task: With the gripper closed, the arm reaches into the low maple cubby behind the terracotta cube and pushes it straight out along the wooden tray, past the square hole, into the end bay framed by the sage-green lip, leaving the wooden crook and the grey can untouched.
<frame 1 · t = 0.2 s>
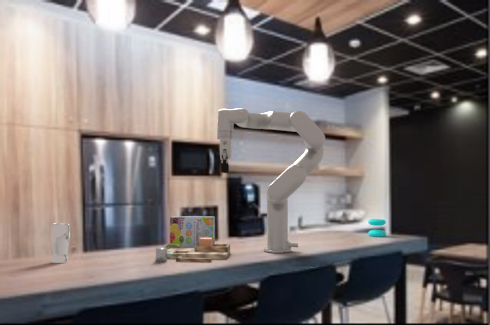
hand: (224, 172, 194), 36 cm above the counter, tool pointing down, fingers open, 9 cm apart
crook: (193, 262, 165), on the counter
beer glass: (59, 262, 163), on the counter
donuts: (377, 236, 247), on the counter
snack box: (192, 248, 202), on the counter
cube: (205, 249, 182), point 2 cm above the counter, touching wooden tray
can: (161, 261, 166), on the counter
wooden tray: (195, 255, 179), on the counter
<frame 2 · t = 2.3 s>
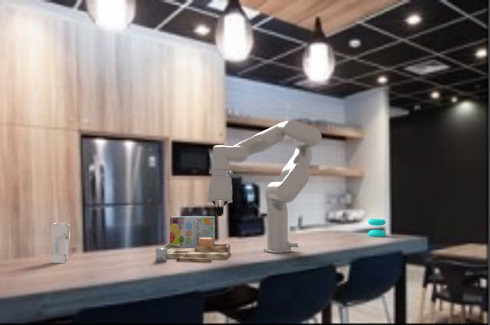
hand: (219, 216, 182), 17 cm above the counter, tool pointing down, fingers closed
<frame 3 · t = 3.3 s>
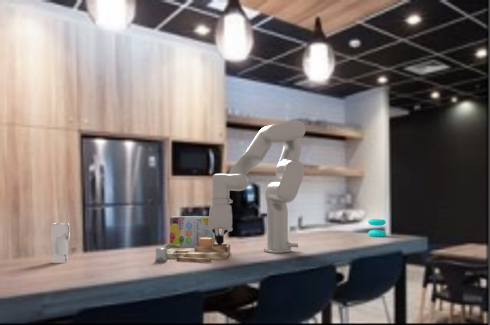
hand: (219, 244, 181), 4 cm above the counter, tool pointing down, fingers closed
nothing on the counter moved.
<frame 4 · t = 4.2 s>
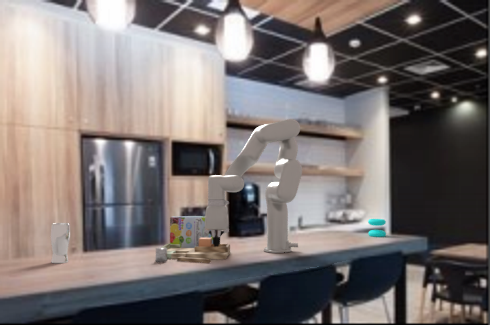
hand: (216, 246, 181), 4 cm above the counter, tool pointing down, fingers closed
cube: (205, 249, 182), point 2 cm above the counter, touching wooden tray, gripper
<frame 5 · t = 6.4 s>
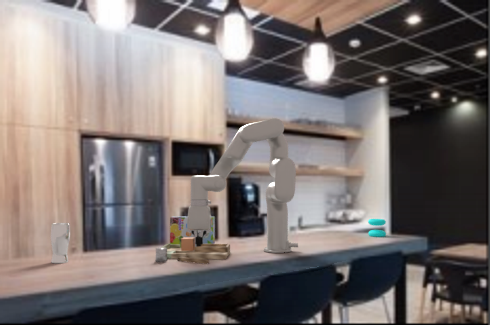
hand: (199, 245, 182), 4 cm above the counter, tool pointing down, fingers closed
cube: (188, 249, 182), point 2 cm above the counter, touching gripper
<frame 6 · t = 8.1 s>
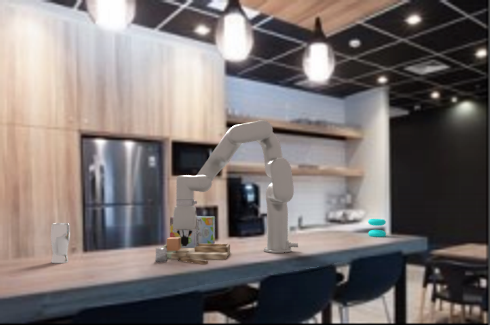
hand: (184, 245, 182), 4 cm above the counter, tool pointing down, fingers closed
cube: (173, 249, 182), point 2 cm above the counter, touching wooden tray, gripper
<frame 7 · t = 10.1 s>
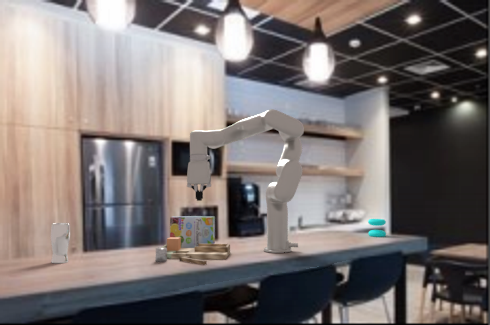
hand: (199, 200, 183), 23 cm above the counter, tool pointing down, fingers closed
cube: (173, 249, 182), point 2 cm above the counter, touching wooden tray
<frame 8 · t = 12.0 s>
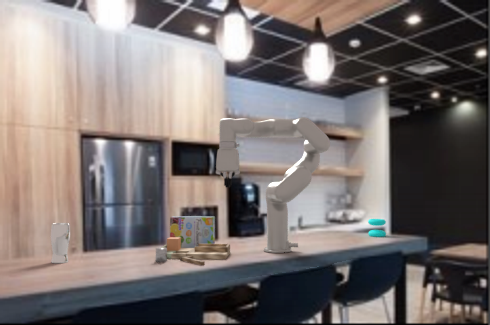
hand: (227, 187, 186), 29 cm above the counter, tool pointing down, fingers closed
at the end: cube 0.3 cm from the target spot on the wooden tray, point 2.0 cm above the wooden tray's base; cube tilted 0° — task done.
